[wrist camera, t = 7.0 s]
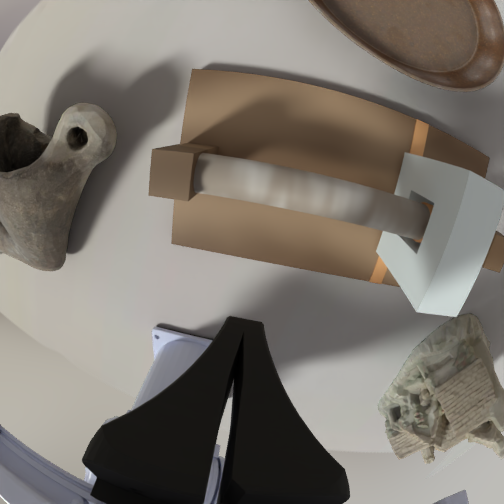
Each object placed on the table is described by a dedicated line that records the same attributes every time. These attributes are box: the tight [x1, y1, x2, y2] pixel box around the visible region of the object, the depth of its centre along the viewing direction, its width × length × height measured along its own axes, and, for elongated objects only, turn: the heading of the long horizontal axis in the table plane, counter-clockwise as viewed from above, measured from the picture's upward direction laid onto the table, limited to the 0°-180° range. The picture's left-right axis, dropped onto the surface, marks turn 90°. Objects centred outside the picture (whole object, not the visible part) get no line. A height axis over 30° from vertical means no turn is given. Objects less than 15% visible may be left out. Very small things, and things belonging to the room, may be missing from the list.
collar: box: [376, 152, 504, 317], centre depth 13 cm, size 7×3×7 cm, turn 171°
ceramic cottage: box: [378, 314, 504, 464], centre depth 19 cm, size 16×16×15 cm
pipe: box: [0, 103, 117, 271], centre depth 16 cm, size 16×9×15 cm
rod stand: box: [149, 69, 504, 287], centre depth 14 cm, size 12×22×6 cm, turn 80°
